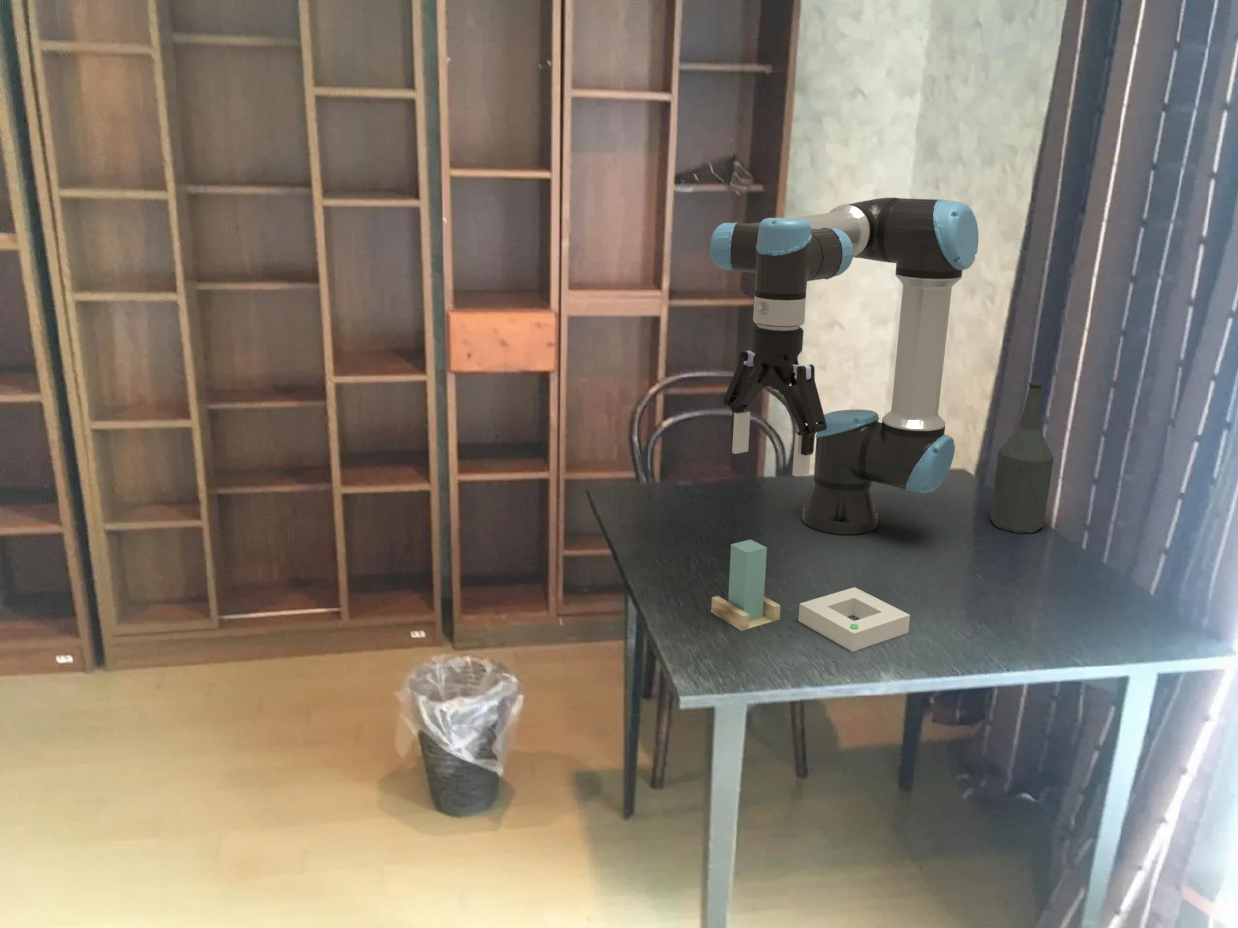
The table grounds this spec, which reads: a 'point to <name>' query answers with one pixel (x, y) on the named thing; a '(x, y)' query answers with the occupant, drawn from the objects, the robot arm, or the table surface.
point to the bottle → (1023, 472)
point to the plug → (747, 577)
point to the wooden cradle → (744, 613)
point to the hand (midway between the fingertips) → (769, 463)
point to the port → (834, 623)
